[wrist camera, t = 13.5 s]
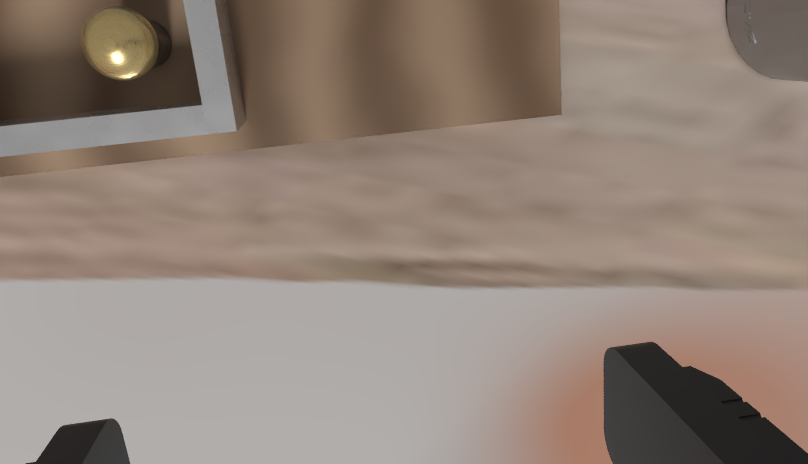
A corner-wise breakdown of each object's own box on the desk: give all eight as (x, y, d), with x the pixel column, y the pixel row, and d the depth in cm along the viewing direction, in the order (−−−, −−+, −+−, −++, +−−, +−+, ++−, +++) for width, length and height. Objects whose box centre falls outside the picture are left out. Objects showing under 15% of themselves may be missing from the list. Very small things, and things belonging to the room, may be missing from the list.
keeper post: (173, 8, 33) (139, 0, 27) (185, 72, 34) (155, 78, 28) (109, 14, 33) (60, 7, 27) (123, 78, 34) (79, 86, 28)
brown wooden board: (548, -112, 35) (556, -118, 34) (554, 112, 38) (561, 114, 37) (-77, -62, 32) (-92, -67, 31) (-10, 174, 35) (-21, 179, 34)
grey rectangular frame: (216, -58, 33) (202, -71, 29) (246, 121, 35) (236, 131, 31) (-76, -33, 31) (-131, -44, 28) (-23, 150, 34) (-67, 164, 30)
